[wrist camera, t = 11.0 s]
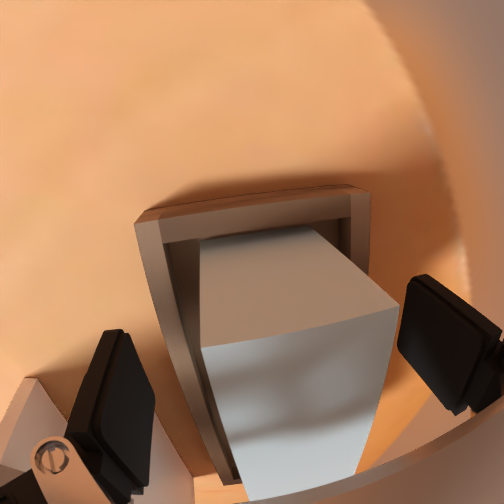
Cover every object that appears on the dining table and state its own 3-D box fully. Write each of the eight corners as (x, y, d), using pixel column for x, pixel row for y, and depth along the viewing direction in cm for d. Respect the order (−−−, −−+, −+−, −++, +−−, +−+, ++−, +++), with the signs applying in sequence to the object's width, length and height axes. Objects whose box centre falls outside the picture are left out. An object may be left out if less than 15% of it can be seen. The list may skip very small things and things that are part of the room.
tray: (144, 210, 11) (133, 224, 9) (347, 184, 12) (370, 192, 10) (221, 464, 17) (223, 485, 16) (329, 442, 18) (337, 461, 16)
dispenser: (23, 377, 13) (-27, 493, 4) (137, 376, 13) (117, 539, 5) (103, 476, 17) (95, 563, 9) (193, 478, 18) (202, 574, 10)
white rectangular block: (200, 241, 11) (200, 348, 5) (308, 225, 11) (400, 305, 6) (245, 452, 16) (262, 532, 10) (307, 439, 16) (335, 514, 11)
